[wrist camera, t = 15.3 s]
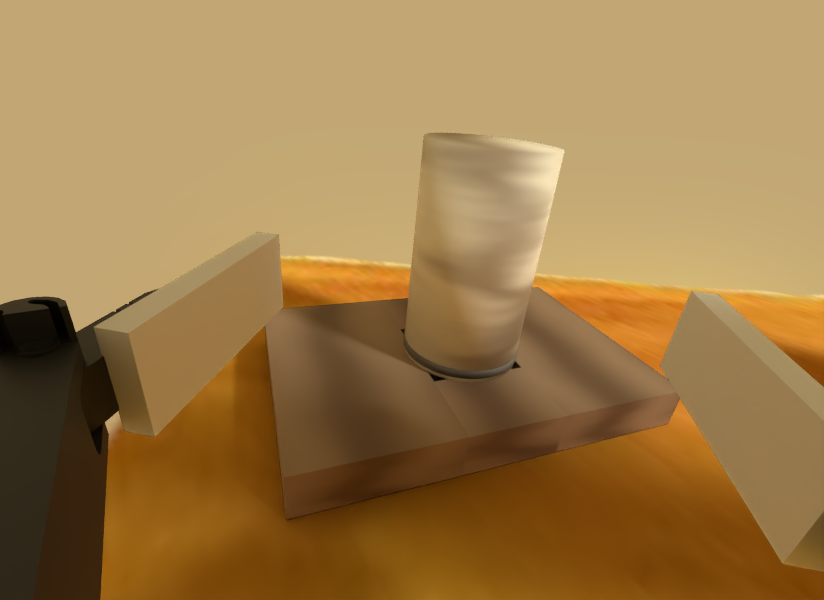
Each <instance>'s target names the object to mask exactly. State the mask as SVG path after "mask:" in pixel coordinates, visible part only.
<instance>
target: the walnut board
mask: <svg viewBox="0 0 824 600" xmlns="http://www.w3.org/2000/svg"><path fill="white" fill-rule="evenodd" d="M407 307H408V298H404V299H392V300H380V301H368V302H356V303H344V304H332V305H320V306H308V307H296V308H284V309H281V310H280V311H279V312H278V313H277V314H276V315H275V316H274V317H273V318H272V319H271V320H270V321H269V322H268V323H267V324H266V325H265V336H266V347H267V356H268V365H269V374H270V383H271V391H272V400H273V409H274V418H275V427H276V436H277V445H278V453H279V462H280V471H281V480H282V489H283V498H284V506H285V515H286V520H288V519H292V518H296V517H300V516H303V515H307V514H311V513H315V512H319V511H323V510H327V509H331V508H335V507H339V506H343V505H347V504H351V503H355V502H359V501H363V500H367V499H371V498H375V497H379V496H383V495H387V494H391V493H395V492H399V491H403V490H407V489H411V488H415V487H419V486H423V485H427V484H431V483H435V482H439V481H443V480H447V479H451V478H455V477H459V476H462V475H466V474H470V473H474V472H478V471H482V470H486V469H490V468H494V467H498V466H502V465H506V464H510V463H514V462H518V461H522V460H526V459H530V458H534V457H538V456H542V455H546V454H550V453H554V452H558V451H562V450H566V449H570V448H574V447H578V446H582V445H586V444H590V443H594V442H598V441H602V440H606V439H610V438H614V437H618V436H621V435H625V434H629V433H633V432H637V431H641V430H645V429H649V428H653V427H657V426H661V425H665V424H668V423H669V421H670V419H671V416H672V414H673V412H674V410H675V408H676V406H677V404H678V402H679V400H680V398H679V396H678V394H677V393H676V391H675V390H674V388H673V386H672V385H671V383H670V382H669V380H668V379H667V378H665V377H664V376H663V375H661V374H660V373H658V372H657V371H656V370H654V369H653V368H651V367H650V366H649V365H647V364H646V363H644V362H643V361H642V360H640V359H639V358H637V357H636V356H635V355H633V354H632V353H630V352H629V351H627V350H626V349H625V348H623V347H622V346H620V345H619V344H618V343H616V342H615V341H613V340H612V339H611V338H609V337H608V336H606V335H605V334H604V333H602V332H601V331H599V330H598V329H597V328H595V327H594V326H592V325H591V324H589V323H588V322H587V321H585V320H584V319H582V318H581V317H580V316H578V315H577V314H575V313H574V312H573V311H571V310H570V309H568V308H567V307H566V306H564V305H563V304H561V303H560V302H559V301H557V300H556V299H554V298H553V297H552V296H550V295H549V294H547V293H546V292H544V291H543V290H542V289H540V288H539V287H535V288H532V290H531V294H530V298H529V302H528V306H527V310H526V315H525V319H524V323H523V327H522V331H521V336H520V340H519V344H518V352H517V356H516V360H515V363H514V364H513V366H512V368H511V369H510V370H509V371H508V372H507V373H506V374H505V375H503V376H501V377H499V378H496V379H493V380H489V381H484V382H460V381H454V380H449V379H446V380H440V381H433V379H432V378H431V376H430V375H429V373H428V372H427V371H425V370H423V369H422V368H420V367H419V366H417V365H416V364H415V363H414V362H413V361H412V360H411V359H410V358H409V356H408V355H407V353H406V351H405V348H404V331H405V328H406V317H407Z"/></svg>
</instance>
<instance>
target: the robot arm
mask: <svg viewBox="0 0 824 600" xmlns="http://www.w3.org/2000/svg"><path fill="white" fill-rule="evenodd" d="M282 308H283V292H282V276H281V260H280V244H279V235H278V234H270V233H263V232H256V233H255V234H253V235H251V236H249V237H248V238H246V239H244V240H243V241H241V242H239V243H237V244H236V245H234V246H232V247H231V248H229V249H227V250H225V251H224V252H222V253H220V254H218V255H217V256H215V257H214V258H212V259H210V260H208V261H206V262H205V263H203V264H201V265H200V266H198V267H196V268H194V269H193V270H191V271H189V272H188V273H186V274H184V275H182V276H181V277H179V278H177V279H175V280H174V281H172V282H171V283H169V284H167V285H165V286H164V287H162V288H160V289H157V290H154V291H151V292H147V293H145V294H143V295H142V296H139V297H138V298H136V299H134V300H132V301H131V302H129V304H125V305H124V306H122V307H120V308H118V309H117V310H116V312H111V313H109V314H108V315H106V316H104V317H102V318H101V319H99V320H97V321H95V322H94V323H92V324H90V325H89V326H87V327H85V328H83V329H81V330H80V331H78V332H75V329H74V325H73V322H72V319H71V316H70V313H69V310H68V307H67V304H66V301H64V300H62V299H60V298H55V297H32V298H26V299H20V300H15V301H11V302H8V303H4V304H2V305H0V600H100V594H101V574H102V554H103V535H104V515H105V495H106V476H107V456H108V436H109V434H108V431H107V428H106V425H105V421H106V420H108V419H109V418H110V417H112V416H113V415H114V414H115V413H116V412H117V411H119V414H120V418H121V421H122V425H123V428H124V431H127V432H132V433H137V434H142V435H147V436H152V437H156V436H157V435H158V434H159V433H160V432H161V431H162V430H163V429H164V428H165V427H166V426H167V425H168V423H169V422H170V421H171V420H172V419H173V418H174V417H175V416H176V415H177V414H178V413H179V412H180V411H181V410H182V409H183V408H184V407H185V406H186V405H187V404H188V403H189V402H190V401H191V400H192V399H193V398H194V397H195V396H196V395H197V394H198V393H199V392H200V391H201V390H202V389H203V388H204V387H205V386H206V385H207V384H208V383H209V382H210V381H211V380H212V379H213V378H214V377H215V376H216V375H217V374H218V373H219V372H220V371H221V370H222V369H223V368H224V367H225V366H226V365H227V364H228V363H229V362H230V361H231V360H232V359H233V358H234V357H235V356H236V355H237V354H238V353H239V352H240V351H241V349H242V348H243V347H244V346H245V345H246V344H247V343H248V342H249V341H250V340H251V339H252V338H253V337H254V336H255V335H256V334H257V333H258V332H259V331H260V330H261V329H262V328H263V327H264V326H265V325H266V324H267V323H268V322H269V321H270V320H271V319H272V318H273V317H274V316H275V315H276V314H277V313H278V312H279V311H280V310H281V309H282ZM660 367H661V369H662V370H663V372H664V373H665V375H666V377H667V378H668V380H669V382H670V383H671V385H672V386H673V388H674V390H675V391H676V393H677V394H678V396H679V398H680V399H681V401H682V402H683V404H684V406H685V407H686V409H687V411H688V412H689V414H690V415H691V417H692V419H693V420H694V422H695V423H696V425H697V427H698V428H699V430H700V432H701V433H702V435H703V436H704V438H705V440H706V441H707V443H708V444H709V446H710V448H711V449H712V451H713V452H714V454H715V456H716V457H717V459H718V461H719V462H720V464H721V465H722V467H723V469H724V470H725V472H726V473H727V475H728V477H729V478H730V480H731V482H732V483H733V485H734V486H735V488H736V490H737V491H738V493H739V494H740V496H741V498H742V499H743V501H744V502H745V504H746V506H747V507H748V509H749V511H750V512H751V514H752V515H753V517H754V519H755V520H756V522H757V523H758V525H759V527H760V528H761V530H762V532H763V533H764V535H765V536H766V538H767V540H768V541H769V543H770V544H771V546H772V548H773V549H774V551H775V552H776V554H777V556H778V557H779V559H780V561H781V562H782V564H785V565H790V566H795V567H800V568H805V569H810V570H815V571H820V572H824V387H823V386H822V385H821V384H820V383H818V382H817V381H816V380H815V379H814V378H813V377H812V376H810V375H809V374H808V373H807V372H806V371H805V370H804V369H802V368H801V367H800V366H799V365H798V364H797V363H796V362H795V361H793V360H792V359H791V358H790V357H789V356H788V355H787V354H785V353H784V352H783V351H782V350H781V349H780V348H779V347H777V346H776V345H775V344H774V343H773V342H772V341H771V340H770V339H768V338H767V337H766V336H765V335H764V334H763V333H762V332H760V331H759V330H758V329H757V328H756V327H755V326H754V325H752V324H751V323H750V322H749V321H748V320H747V319H746V318H745V317H743V316H742V315H741V314H740V313H739V312H738V311H737V310H735V309H734V308H733V307H732V306H731V305H730V304H729V303H727V302H726V301H725V300H724V299H723V298H722V297H721V296H720V295H718V294H711V293H703V292H696V291H691V293H690V295H689V298H688V300H687V302H686V305H685V307H684V310H683V312H682V314H681V317H680V319H679V322H678V324H677V326H676V329H675V331H674V334H673V336H672V338H671V341H670V343H669V346H668V348H667V350H666V353H665V355H664V357H663V360H662V362H661V365H660Z"/></svg>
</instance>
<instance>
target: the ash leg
mask: <svg viewBox="0 0 824 600" xmlns="http://www.w3.org/2000/svg"><path fill="white" fill-rule="evenodd" d="M563 155H564V150H563V149H561V148H558V147H554V146H550V145H546V144H541V143H535V142H529V141H524V140H517V139H510V138H502V137H493V136H484V135H473V134H458V133H429V134H425V135H424V140H423V150H422V160H421V171H420V181H419V191H418V202H417V212H416V223H415V233H414V244H413V254H412V265H411V275H410V286H409V296H408V307H407V317H406V328H405V331H404V348H405V351H406V353H407V355H408V356H409V358H410V359H411V360H412V361H413V362H414V363H415V364H416V365H417V366H419V367H420V368H422V369H423V370H425V371H427V372H428V373H429V375H430V376H431V378H432V379H433V381H440V380H446V379H449V380H454V381H460V382H484V381H489V380H493V379H496V378H499V377H501V376H503V375H505V374H506V373H507V372H508V371H509V370H510V369H511V368H512V366H513V364H514V363H515V360H516V356H517V352H518V344H519V340H520V336H521V331H522V327H523V323H524V319H525V315H526V310H527V306H528V302H529V298H530V294H531V290H532V285H533V281H534V277H535V273H536V269H537V264H538V260H539V256H540V251H541V248H542V243H543V239H544V235H545V231H546V227H547V222H548V218H549V214H550V210H551V206H552V201H553V197H554V193H555V189H556V185H557V180H558V176H559V172H560V167H561V164H562V160H563Z"/></svg>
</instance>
